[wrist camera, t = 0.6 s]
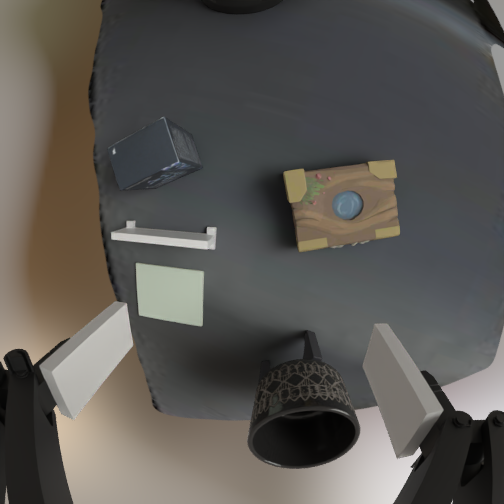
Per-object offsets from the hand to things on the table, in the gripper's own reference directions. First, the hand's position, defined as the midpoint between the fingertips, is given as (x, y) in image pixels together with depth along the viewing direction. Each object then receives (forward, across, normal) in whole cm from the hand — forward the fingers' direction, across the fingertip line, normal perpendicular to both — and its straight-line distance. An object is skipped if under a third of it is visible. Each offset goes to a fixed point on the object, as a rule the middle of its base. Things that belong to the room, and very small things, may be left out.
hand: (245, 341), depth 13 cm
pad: (+25, -14, -10) cm, 30 cm away
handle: (+25, -14, 0) cm, 29 cm away
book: (+26, +10, +5) cm, 29 cm away
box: (+26, -14, +10) cm, 31 cm away
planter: (+25, +6, -19) cm, 32 cm away
